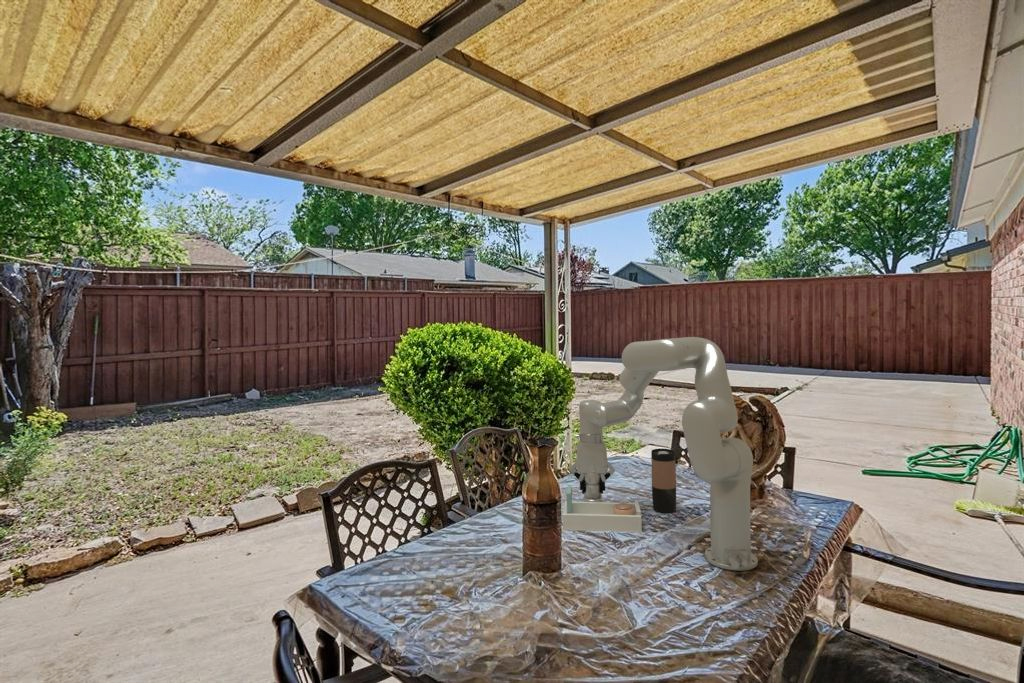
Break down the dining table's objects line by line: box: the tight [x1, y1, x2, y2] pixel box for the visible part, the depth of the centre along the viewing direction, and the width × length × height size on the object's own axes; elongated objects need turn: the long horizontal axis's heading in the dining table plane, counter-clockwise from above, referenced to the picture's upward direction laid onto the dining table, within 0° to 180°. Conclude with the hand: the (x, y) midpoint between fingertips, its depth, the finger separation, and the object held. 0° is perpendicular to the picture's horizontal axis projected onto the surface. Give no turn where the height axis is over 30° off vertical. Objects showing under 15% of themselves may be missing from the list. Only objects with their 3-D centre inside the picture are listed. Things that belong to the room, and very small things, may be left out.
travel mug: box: [650, 448, 677, 515], centre depth 170 cm, size 8×8×20 cm
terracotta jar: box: [614, 502, 634, 515], centre depth 160 cm, size 6×6×6 cm
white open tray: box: [562, 500, 643, 533], centre depth 161 cm, size 12×23×6 cm, turn 81°
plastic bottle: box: [582, 467, 604, 502], centre depth 173 cm, size 6×7×20 cm
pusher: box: [566, 484, 573, 514], centre depth 162 cm, size 9×1×10 cm, turn 171°
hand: (592, 491), depth 173 cm, fingers closed on plastic bottle, 5 cm apart
